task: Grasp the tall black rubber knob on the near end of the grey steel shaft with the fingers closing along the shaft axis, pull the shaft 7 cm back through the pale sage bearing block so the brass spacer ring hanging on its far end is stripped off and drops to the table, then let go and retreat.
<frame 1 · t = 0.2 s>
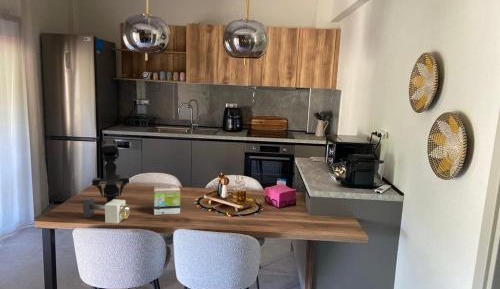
hand: (111, 196, 209), 14 cm above the table, fingers open, 9 cm apart
tea box: (166, 212, 228), on the table
spacer: (125, 211, 211), point 5 cm above the table, touching shaft
bearing block: (115, 219, 213), on the table
shaft: (106, 208, 213), point 6 cm above the table, slide at 0.0 cm, touching spacer
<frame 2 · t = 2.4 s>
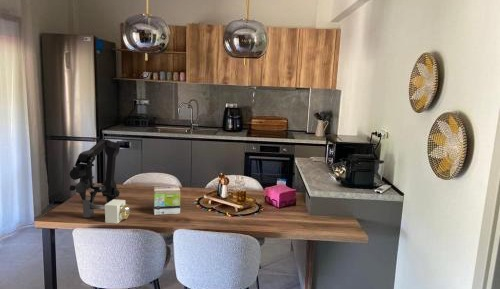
hand: (88, 202, 214), 9 cm above the table, fingers closed on shaft, 4 cm apart
shaft: (106, 208, 213), point 6 cm above the table, slide at 0.0 cm, touching gripper, spacer
everything else where it was.
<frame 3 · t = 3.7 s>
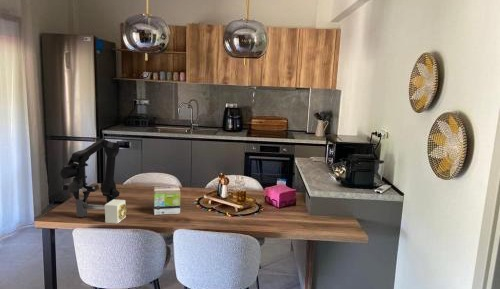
hand: (81, 202, 214), 9 cm above the table, fingers closed on shaft, 4 cm apart
spacer: (122, 211, 212), point 5 cm above the table, touching bearing block
shaft: (100, 208, 213), point 6 cm above the table, slide at 4.1 cm, touching gripper
everything else where it was.
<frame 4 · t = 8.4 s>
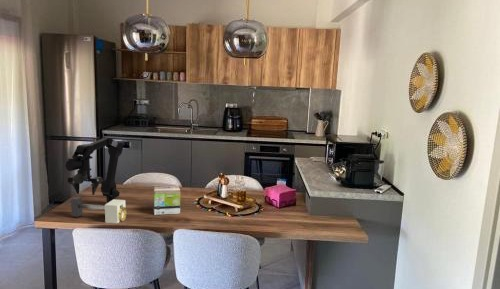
hand: (85, 194, 216), 13 cm above the table, fingers open, 9 cm apart
spacer: (122, 213, 212), point 4 cm above the table
shaft: (95, 207, 214), point 6 cm above the table, slide at 7.0 cm
everything else where it was.
at the end: spacer point 3.7 cm above the table; spacer touching table; shaft slide at 7.0 cm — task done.
